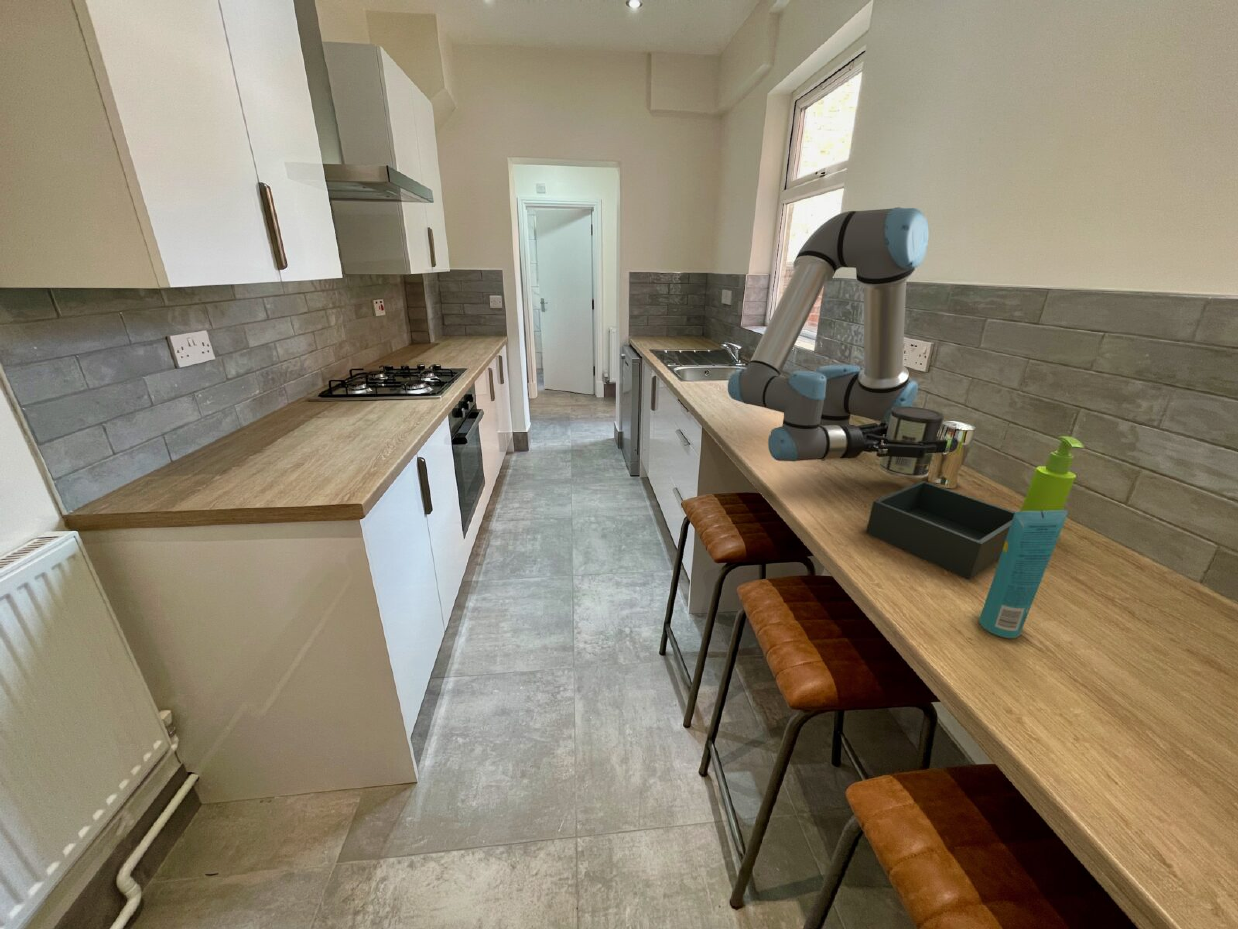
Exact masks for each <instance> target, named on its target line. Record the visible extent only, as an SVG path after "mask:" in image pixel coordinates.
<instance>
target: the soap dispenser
mask: <svg viewBox="0 0 1238 929" xmlns="http://www.w3.org/2000/svg"><path fill="white" fill-rule="evenodd" d="M1058 440H1059V441H1060V444H1059V445H1058V446H1059V447H1058V449H1057V450H1055V451H1051V452H1050V453H1049V457H1048V458H1047V461H1046V463H1045V464H1046V465H1039V466H1037V467H1036V468H1035V470H1034V473H1033V476H1032V478H1031V482H1030V484H1029V487H1028V490H1027V492H1026V495H1025V498H1024V500H1023V503H1022V505H1021V508H1020V511H1058V510H1059V511H1062V510H1064V507H1065V504H1066V502H1067V499H1068V497H1069V495H1070V492H1071V490H1072V487H1073V485H1074V483H1075V480H1076V477H1077V476H1076V474H1075V473H1074V472H1072V471H1070V469H1071V466H1072V464H1073V461H1074V459H1075V456H1074V455H1072V454H1071V451H1072V449H1080V450H1083V449H1085V445H1084V444H1083V442H1081V441H1080V440H1078V439H1077V438H1076V437H1075V438H1074V437H1072V436H1064V435H1058Z"/></svg>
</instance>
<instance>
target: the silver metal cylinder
mask: <svg viewBox="0 0 1238 929" xmlns="http://www.w3.org/2000/svg"><path fill="white" fill-rule="evenodd" d="M975 431H976V426H974V425H973V424H970V423H966V422H961V421H954V420H945V421H942V424H941V427H940V431H939V434H938V438H937V440H947V441H948V443H947V446H946V450H945V453H934V456H933V458H934V459H933V467H932V470H931V471H930V474H929V475H928V478H927V482H928V483H930V484H933V485H936V486H939V487H942V488H945V489H955V488H956V487H957V485H958V476H959V472H960V470H961V468H962V466H963V464H964V462H965V460H966V458H967V457H968V454H969V452H970V450H971V447H972V445H973V441H974V436H975Z"/></svg>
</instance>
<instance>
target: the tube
mask: <svg viewBox="0 0 1238 929" xmlns="http://www.w3.org/2000/svg"><path fill="white" fill-rule="evenodd" d="M1014 512H1015V514H1014V517H1013V520H1012V523H1011V526H1010V529H1009V532H1008V535H1007V538H1006V541H1005V544H1004V547H1003V550H1002V553H1001V556H1000V558H999V559H998V563H997V566H996V569H995V572H994V574H993V578H992V581H991V584H990V586H989V590H988V593H987V595H986V598H985V602H984V603H983V606H982V610H981V613H980V615H979V619H978V622H979V625H980V626H981V627H982V628H983V629H984V630H986V631H988V632H989V633H991V634H993V635H996V636H998V637H1001V638H1005V639H1016V638H1018V637H1020V635H1021V632H1022V630H1023V627H1024V625H1025V623H1026V621H1027V618H1028V615H1029V612H1030V609H1031V607H1032V605H1033V602H1034V600H1035V597H1036V595H1037V593H1038V590H1039V587H1040V585H1041V583H1042V580H1043V577H1044V575H1045V573H1046V569H1047V568H1048V565H1049V562H1050V560H1051V558H1052V555H1053V552H1054V550H1055V547H1056V545H1057V542H1058V540H1059V538H1060V536H1061V532H1062V530H1063V528H1064V525H1065V522H1066V520H1067V517H1068V510H1066V509H1065V510H1064V509H1063V510H1062V511H1059V510H1058V511H1021V510H1020V511H1017V510H1016V511H1014Z"/></svg>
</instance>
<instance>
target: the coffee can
mask: <svg viewBox="0 0 1238 929" xmlns="http://www.w3.org/2000/svg"><path fill="white" fill-rule="evenodd" d="M944 419H945V415H944V414H943V413H942V412H940V411H938V410H933V409H931V408H925V407H918V406H911V407H909V406H901V407H894V408H892V410H891V417H890V422H889V423H888V425H887V426H888V431H887V435H886V437H887V438H888V439H891V440H899V441H907V442H916V443H918V442H919V441H931V440H937V438H938V434H939V432H940V429H941V426H942V424H943V421H944ZM933 457H934V453H925V456H924V458H908V457H890V456H887V457H880V462H879V464H878V467H879V468H880V469H881V470H882V471H883V472H886V473H887V474H890V475H893V476H896V477H900V478H907V479H922V478H926V477H928V476H929V471H930V468H931V463H932V460H933Z"/></svg>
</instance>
